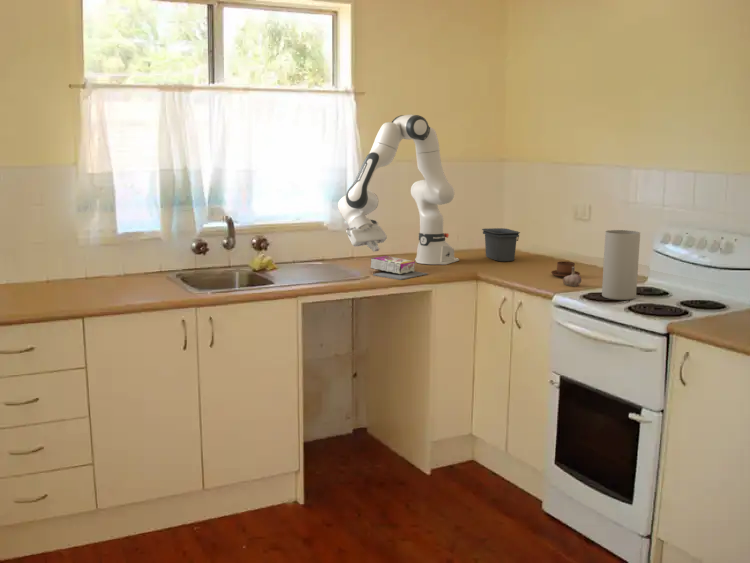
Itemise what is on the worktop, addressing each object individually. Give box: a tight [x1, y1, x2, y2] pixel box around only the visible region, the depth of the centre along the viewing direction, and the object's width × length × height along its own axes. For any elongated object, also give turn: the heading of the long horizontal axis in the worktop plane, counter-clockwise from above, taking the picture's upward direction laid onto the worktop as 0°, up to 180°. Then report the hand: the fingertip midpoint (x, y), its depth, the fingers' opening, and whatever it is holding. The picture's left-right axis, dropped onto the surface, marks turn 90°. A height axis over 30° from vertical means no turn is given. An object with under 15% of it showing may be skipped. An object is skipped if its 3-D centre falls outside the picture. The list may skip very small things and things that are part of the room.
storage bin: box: [481, 227, 521, 262], centre depth 399 cm, size 21×16×14 cm
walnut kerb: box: [372, 269, 386, 275], centre depth 360 cm, size 14×1×2 cm, turn 137°
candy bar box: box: [370, 255, 416, 274], centre depth 358 cm, size 11×5×16 cm
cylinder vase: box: [601, 229, 641, 301], centre depth 307 cm, size 12×12×25 cm
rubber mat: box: [372, 270, 429, 281], centre depth 354 cm, size 18×16×1 cm
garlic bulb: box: [562, 266, 582, 288], centre depth 332 cm, size 8×7×8 cm
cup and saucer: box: [550, 261, 581, 279], centre depth 353 cm, size 12×12×6 cm
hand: (376, 250), depth 362 cm, fingers closed
